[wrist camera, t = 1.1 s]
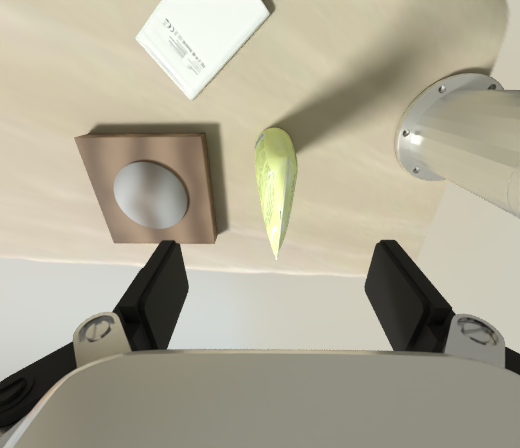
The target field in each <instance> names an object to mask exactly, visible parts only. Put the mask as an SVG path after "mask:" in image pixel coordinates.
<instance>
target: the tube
mask: <svg viewBox="0 0 520 448" xmlns="http://www.w3.org/2000/svg"><path fill="white" fill-rule="evenodd" d="M255 170H256V179H257V185H258V191H259V197H260V202H261V207H262V212H263V217H264V222H265V226H266V230H267V234H268V237H269V240H270V244H271V247H272V250H273V252H274V254H275V258H276V260H277V259H278V252H279V250H280V248H281V245H282V243H283V240H284V237H285V234H286V230H287V227H288V223H289V218H290V213H291V207H292V202H293V196H294V190H295V184H296V178H297V158H296V153H295V150H294V147H293V144H292V141H291V139H290V137H289V135H288V134H287V133H286V132H285V131H284V130H282V129H279V128H268V129H266V130H264V131H263V132H262V133H261V134H260V135H259V136H258V138H257V140H256V144H255Z"/></svg>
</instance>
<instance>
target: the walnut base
mask: <svg viewBox="0 0 520 448" xmlns="http://www.w3.org/2000/svg"><path fill="white" fill-rule="evenodd" d="M74 139H75V141H76V144H77V147H78V149H79V152H80V155H81V157H82V160H83V163H84V165H85V168H86V170H87V173H88V176H89V178H90V181H91V184H92V186H93V189H94V191H95V194H96V197H97V199H98V202H99V205H100V207H101V210H102V212H103V215H104V218H105V220H106V223H107V226H108V228H109V231H110V234H111V236H112V239H113V241H114V243H160V242H161V241H162V240H175V241H176V243H179V244H215V241H216V238H217V227H216V219H215V210H214V202H213V193H212V185H211V177H210V168H209V160H208V152H207V143H206V135H205V133H169V134H86V135H82V136H79V137H75V138H74Z"/></svg>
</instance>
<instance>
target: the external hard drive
mask: <svg viewBox="0 0 520 448" xmlns="http://www.w3.org/2000/svg"><path fill="white" fill-rule="evenodd" d="M269 15H270V13H269V11H268V10H267V8H266V6H265V5H264V3H263V2H262V0H161V2H160V3H159V5H158V6H157V8H156V9H155V11H154V12H153V13H152V15H151V16H150V18H149V19H148V21H147V22H146V24H145V25H144V26H143V28H142V29H141V31H140V32H139V33H138V35H137V36H136V40H137V41H138V42H139V43H140V44H141V45H142V47H143V48H144V49H145V50H146V51H147V52H148V53H149V54H150V55H151V56H152V58H153V59H154V60H155V61H156V62H157V63H158V64H159V65H160V66H161V68H162V69H163V70H164V71H165V72H166V73H167V74H168V75H169V77H170V78H171V79H172V80H173V81H174V82H175V83H176V84H177V86H178V87H179V88H180V89H181V90H182V91H183V92H184V93H185V94H186V96H187V97H188V98H189V99H190V100H194V99H195V98H196V96H197V95H198V94H199V93H200V92H201V91H202V90H203V89H204V88H205V87H206V85H207V84H208V83H209V82H210V81H211V80H212V79H213V78H214V77H215V75H216V74H217V73H218V72H219V71H220V70H221V69H222V68H223V67H224V65H225V64H226V63H227V62H228V61H229V60H230V59H231V58H232V57H233V55H234V54H235V53H236V52H237V51H238V50H239V49H240V48H241V46H242V45H243V44H244V43H245V42H246V41H247V40H248V39H249V38H250V36H251V35H252V34H253V33H254V32H255V31H256V30H257V29H258V28H259V26H260V25H261V24H262V23H263V22H264V21H265V20H266V19H267V17H268V16H269Z"/></svg>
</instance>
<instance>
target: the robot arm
mask: <svg viewBox="0 0 520 448" xmlns="http://www.w3.org/2000/svg"><path fill="white" fill-rule="evenodd" d="M439 87H440V89H439ZM438 90H439V91H438ZM403 131H404V133H403ZM402 133H403V134H402ZM395 153H396V156H397V159H398V162H399V163H400V165H401V166H402V168H403V169H404V170H406V171H407V172H408V173H409V174H411V175H412V176H414V177H417V178H419V179H422V180H427V181H439V180H445V179H447V180H449V181H451V182H453V183H454V184H456V185H458V186H460V187H462V188H464V189H466V190H468V191H470V192H471V193H473V194H475V195H477V196H479V197H481V198H482V199H484V200H486V201H488V202H490V203H492V204H494V205H496V206H497V207H499V208H501V209H503V210H505V211H507V212H509V213H511V214H513V215H514V216H516V217H518V218H520V90H504V89H503V87H502V86H501V84H500V83H499V82H497V81H496V80H495V79H493V78H492V77H490V76H487V75H484V74H477V73H464V74H458V75H453V76H450V77H447V78H445V79H442V80H440V81H438V82H436V83H435V84H433V85H431V86H430V87H428V88H427V89H426V90H425V91H423V92H422V93H421V94H420V95H419V96H418V97H417V98H416V99H415V100H414V101H413V102H412V103H411V104H410V106H409V107H408V109H407V110H406V112H405V113H404V115H403V117H402V119H401V121H400V123H399V125H398V128H397V132H396V136H395ZM188 289H189V285H188V280H187V276H186V271H185V266H184V261H183V257H182V252H181V247H180V244H179V243H176V241H175V240H162V241H161V242H160V244H159V245H158V247H157V248H156V250H155V251H154V253H153V254H152V256H151V257H150V259H149V260H148V262H147V263H146V265H145V267H144V268H142V269H141V270H140V271H139V273H138V274H137V276H136V277H135V279H134V280H133V282H132V283H131V285H130V286H129V288H128V289H127V291H126V292H125V294H124V295H123V297H122V298H121V300H120V301H119V303H118V304H117V305H116V307H115V308H114V310H113V312H103V313H99V314H96V315H93V316H92V317H90V318H88V319H86V320H85V321H84V322H83V323H81V324H80V325H79V327H78V328H77V329H76V331H75V332H74V335H73V342H71V343H69V344H67V345H65V346H64V347H62V348H60V349H58V350H57V351H54V352H53V353H51V354H49V355H47V356H45V357H43V358H42V359H40V360H38V361H36V362H34V363H32V364H31V365H29V366H27V367H25V368H23V369H22V370H20V371H18V372H16V373H14V374H12V375H10V376H9V377H7V378H6V379H4V380H3V381H1V382H0V448H520V354H519V353H517V352H515V351H513V350H511V349H509V348H507V347H505V342H504V338H503V336H502V335H501V334H500V332H499V331H498V330H497V329H496V328H494V327H493V326H492V325H490V324H489V323H488V322H486V321H484V320H482V319H480V318H478V317H475V316H473V315H468V314H457V315H456V314H455V313H454V312H453V311H452V307H451V306H450V305H449V303H448V302H447V301H446V300H445V299H444V297H442V295H441V294H440V293H439V292H438V290H437V289H436V288H435V287H434V286H433V284H431V282H430V281H429V280H428V278H427V277H426V276H425V275H424V274H423V272H422V271H421V270H420V269H419V268H418V266H417V265H416V264H415V263H414V262H413V260H412V259H411V258H410V257H409V256H408V255H407V253H406V252H405V251H404V250H403V249H402V247H401V246H400V245H399V244H398V243H397V241H395V240H381V241H380V243H377V244H376V246H375V250H374V253H373V257H372V261H371V264H370V268H369V271H368V275H367V279H366V282H365V292H366V295H367V296H368V299H369V300H370V303H371V305H372V307H373V309H374V311H375V313H376V315H377V317H378V319H379V321H380V324H381V325H382V328H383V330H384V332H385V334H386V336H387V338H388V340H389V342H390V344H391V346H392V348H393V350H394V351H368V350H366V351H365V350H281V349H271V350H270V349H266V350H265V349H175V350H174V349H173V350H172V349H168V350H167V347H168V344H169V342H170V339H171V336H172V333H173V331H174V328H175V326H176V323H177V320H178V317H179V314H180V312H181V309H182V307H183V304H184V301H185V299H186V296H187V293H188Z"/></svg>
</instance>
